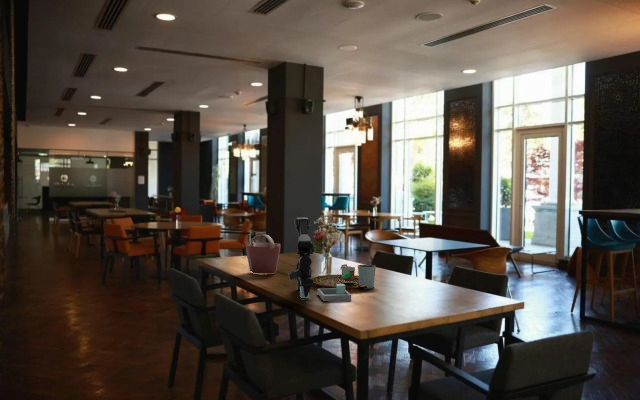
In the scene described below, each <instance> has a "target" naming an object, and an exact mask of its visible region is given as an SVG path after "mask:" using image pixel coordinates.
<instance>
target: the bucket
mask: <svg viewBox="0 0 640 400" xmlns="http://www.w3.org/2000/svg"><path fill="white" fill-rule="evenodd" d="M262 236H263V237H265V238H266V239H267V241H268V242H255V241H256V240H258V239H259V238H260V237H262ZM280 252H281V243H275V241H274V240H273V238H272V237H271V236H270V235H268V234H257V235H255V236H254V237H252V239H251V240H250V243H247V244H245V253H246V257H247V262H248V268H249V272H250V271H252V272H253V273H273V272H276V273H277V269H278V263H279V259H280Z"/></svg>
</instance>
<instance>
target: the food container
mask: <svg viewBox="0 0 640 400" xmlns="http://www.w3.org/2000/svg"><path fill="white" fill-rule="evenodd" d="M340 270H341V280H342V279H343V280H345V281H354V282H355V275H356V274H355V272H356V267H354V266H351V265H350V266H349V265H348V264H347V263H345V264H341V265H340Z"/></svg>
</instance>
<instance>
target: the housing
mask: <svg viewBox="0 0 640 400" xmlns="http://www.w3.org/2000/svg"><path fill="white" fill-rule="evenodd" d="M318 295H319V296H320V297H319V296H318ZM317 296H318V297H319V298H320V300H321V301H322V300H323V301H335V302H351V301H352V294H351V293H350V292H349V291H348V290H346V284H344V283H336V284H335V287H334V288H333V287H331V288H317ZM323 301H322V302H323Z"/></svg>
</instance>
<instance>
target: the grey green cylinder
mask: <svg viewBox="0 0 640 400" xmlns="http://www.w3.org/2000/svg"><path fill="white" fill-rule="evenodd" d="M376 269H377V267H376V265H374V264H358V265H357V274H358V286H359V285H365V286H366V287H367V288H366V289H374V287H375V279H376V278H375V276H376Z"/></svg>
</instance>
